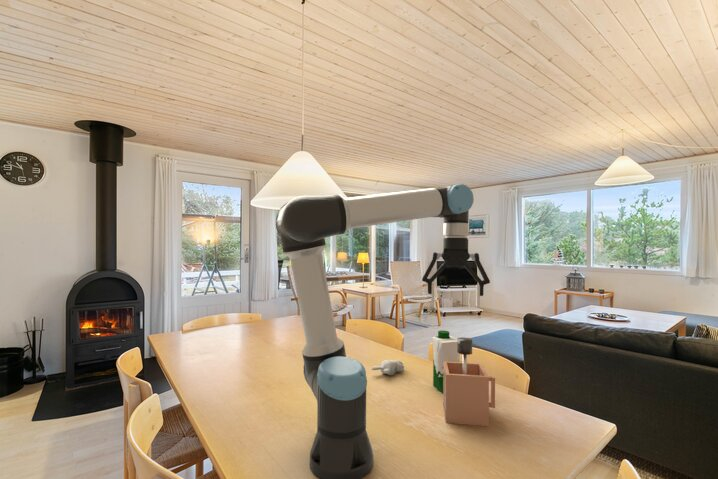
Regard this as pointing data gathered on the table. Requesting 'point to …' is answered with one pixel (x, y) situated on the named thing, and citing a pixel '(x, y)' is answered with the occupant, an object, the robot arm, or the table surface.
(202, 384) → the table surface
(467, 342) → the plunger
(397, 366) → the bunny figurine
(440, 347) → the soya milk
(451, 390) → the square pink mug
